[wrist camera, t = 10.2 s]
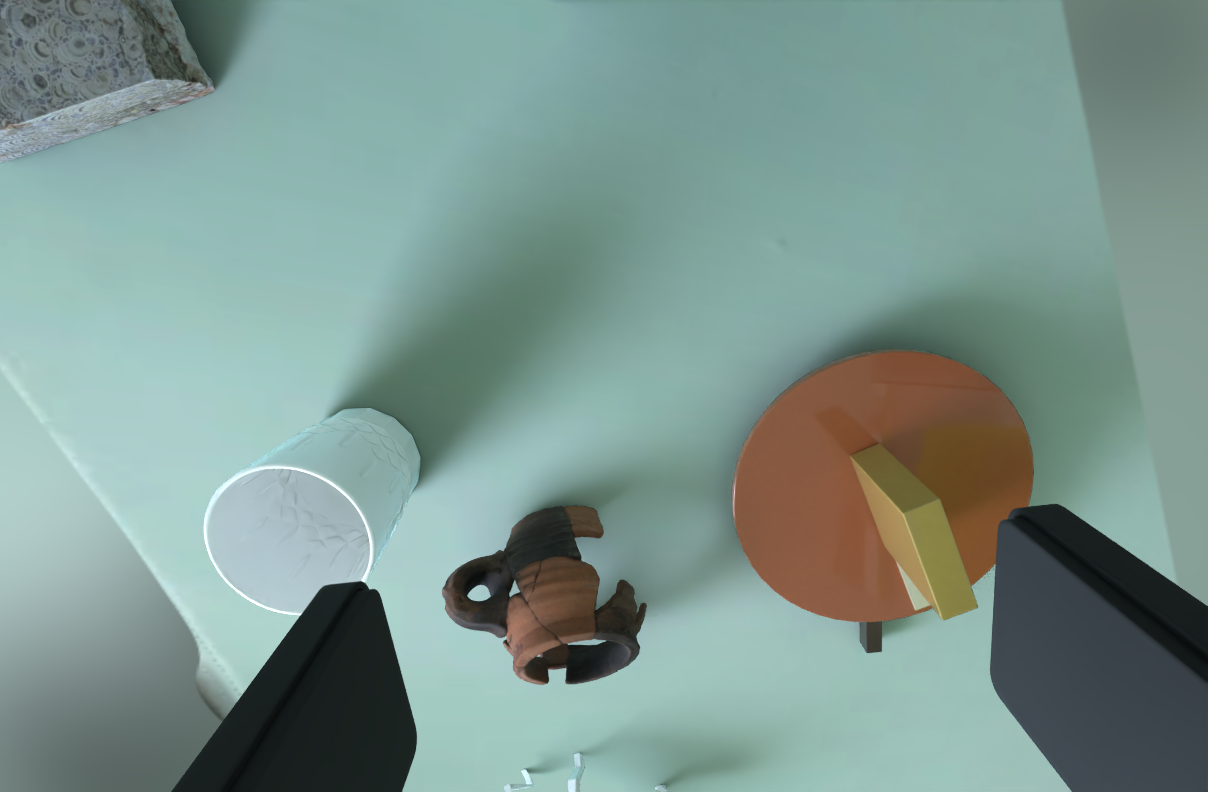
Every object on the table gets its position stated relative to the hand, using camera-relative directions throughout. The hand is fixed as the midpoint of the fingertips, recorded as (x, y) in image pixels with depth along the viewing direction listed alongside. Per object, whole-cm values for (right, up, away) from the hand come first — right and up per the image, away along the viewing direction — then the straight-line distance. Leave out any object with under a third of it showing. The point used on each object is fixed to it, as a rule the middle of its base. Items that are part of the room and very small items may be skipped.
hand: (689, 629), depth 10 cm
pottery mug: (-5, -8, +32) cm, 33 cm away
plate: (+15, -2, +28) cm, 32 cm away
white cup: (-16, 0, +30) cm, 34 cm away
